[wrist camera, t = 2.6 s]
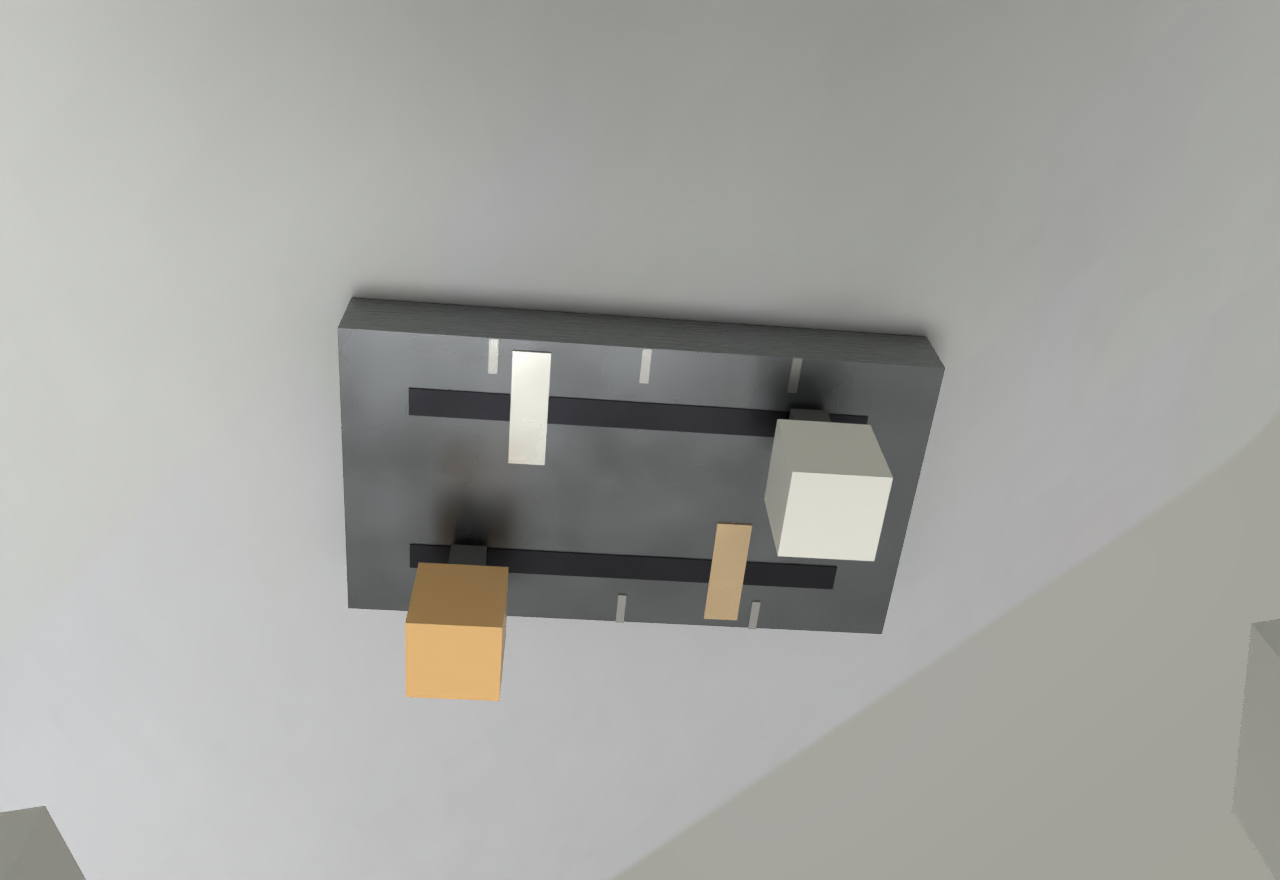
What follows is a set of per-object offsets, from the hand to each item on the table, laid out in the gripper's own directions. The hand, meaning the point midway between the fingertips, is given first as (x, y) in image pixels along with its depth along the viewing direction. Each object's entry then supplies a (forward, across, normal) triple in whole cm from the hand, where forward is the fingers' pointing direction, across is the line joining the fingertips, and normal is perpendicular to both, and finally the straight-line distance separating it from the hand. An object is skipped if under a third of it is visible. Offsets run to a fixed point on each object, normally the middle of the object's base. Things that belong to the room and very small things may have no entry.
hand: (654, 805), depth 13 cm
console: (+21, -1, -7) cm, 22 cm away
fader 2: (+19, +4, -6) cm, 20 cm away
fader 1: (+19, -6, -9) cm, 21 cm away
